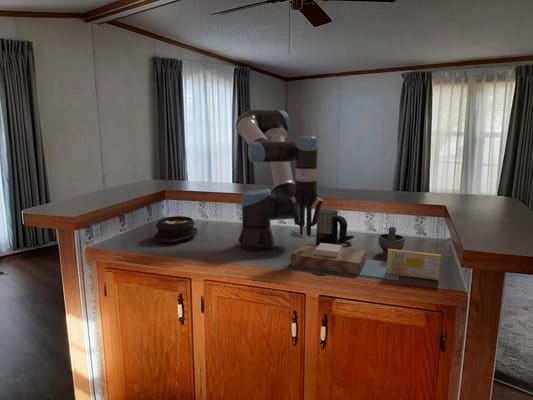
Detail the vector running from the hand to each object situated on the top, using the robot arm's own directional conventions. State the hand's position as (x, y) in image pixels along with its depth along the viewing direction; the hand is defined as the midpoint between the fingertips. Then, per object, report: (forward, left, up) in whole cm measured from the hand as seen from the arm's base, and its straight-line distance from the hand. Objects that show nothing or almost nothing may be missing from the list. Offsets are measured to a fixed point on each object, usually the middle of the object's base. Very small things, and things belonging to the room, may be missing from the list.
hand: (305, 243), depth 140 cm
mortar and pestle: (+29, +18, -7) cm, 35 cm away
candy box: (+37, -3, -6) cm, 38 cm away
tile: (+9, 0, -2) cm, 9 cm away
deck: (+9, 0, -6) cm, 11 cm away
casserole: (-62, +7, -7) cm, 63 cm away
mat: (+27, 0, -6) cm, 28 cm away
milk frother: (+6, +24, -7) cm, 25 cm away
